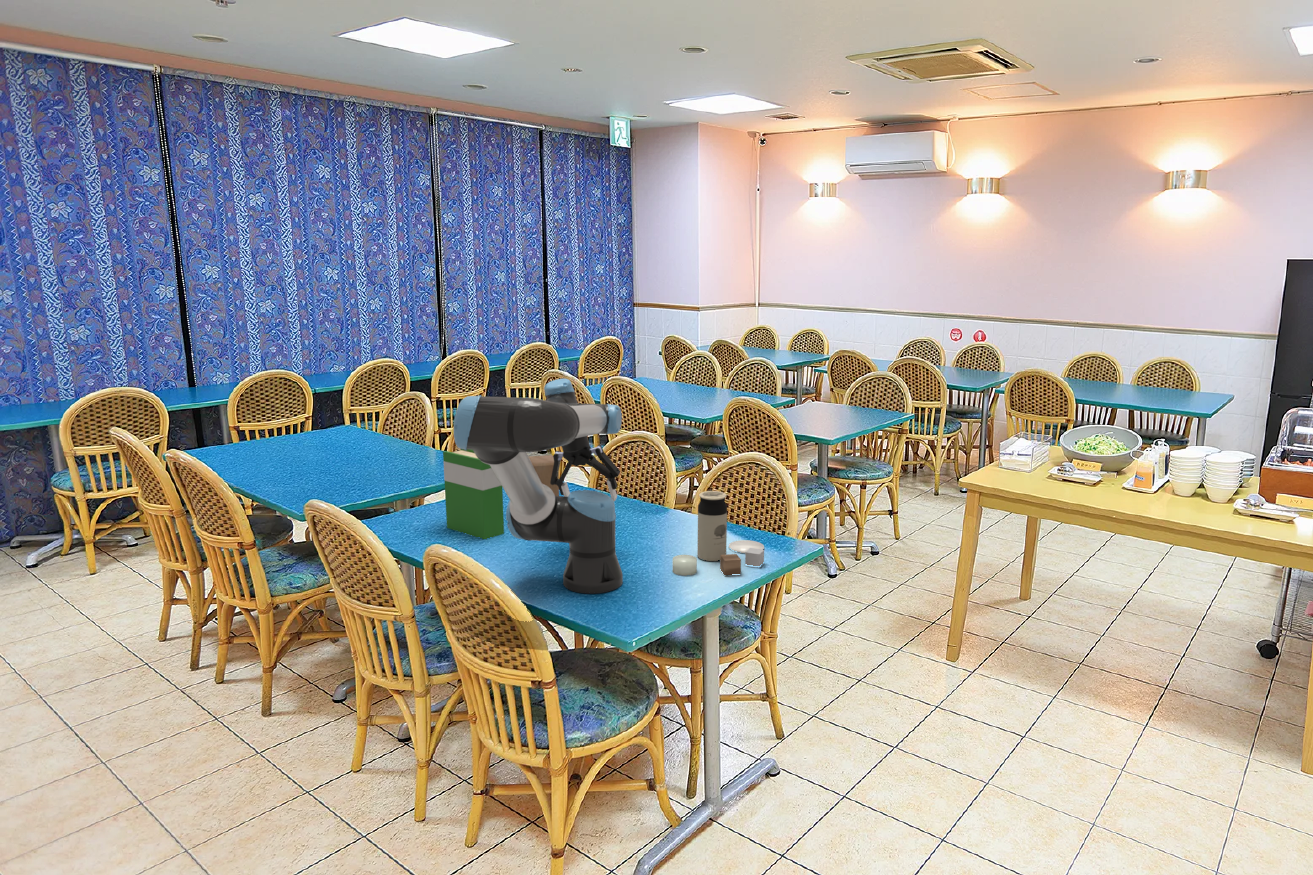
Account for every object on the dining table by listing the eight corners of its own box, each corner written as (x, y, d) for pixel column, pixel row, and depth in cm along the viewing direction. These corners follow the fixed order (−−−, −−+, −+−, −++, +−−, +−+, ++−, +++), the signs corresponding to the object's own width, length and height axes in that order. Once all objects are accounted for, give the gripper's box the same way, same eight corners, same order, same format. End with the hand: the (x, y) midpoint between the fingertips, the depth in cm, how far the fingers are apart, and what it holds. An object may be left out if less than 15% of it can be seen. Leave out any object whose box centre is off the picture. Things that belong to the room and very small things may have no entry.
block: (527, 526, 265) (526, 463, 260) (524, 517, 274) (522, 456, 270) (560, 524, 267) (558, 461, 263) (555, 514, 277) (553, 454, 272)
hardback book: (446, 527, 263) (442, 451, 258) (466, 522, 269) (462, 447, 264) (484, 539, 253) (481, 460, 248) (504, 533, 258) (501, 455, 253)
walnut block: (740, 575, 225) (741, 559, 224) (724, 576, 225) (724, 560, 224) (736, 569, 230) (736, 553, 229) (720, 570, 229) (720, 554, 228)
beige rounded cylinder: (695, 576, 224) (695, 563, 224) (670, 575, 225) (670, 562, 225) (698, 568, 231) (698, 555, 230) (674, 566, 232) (674, 554, 231)
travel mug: (692, 554, 241) (693, 492, 237) (718, 550, 244) (719, 489, 240) (704, 563, 234) (705, 499, 230) (731, 559, 236) (732, 496, 233)
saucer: (763, 554, 240) (763, 552, 240) (727, 552, 242) (727, 550, 242) (764, 543, 250) (764, 541, 250) (730, 541, 251) (730, 539, 251)
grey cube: (759, 568, 230) (759, 554, 229) (745, 566, 232) (745, 552, 231) (763, 563, 234) (764, 549, 233) (749, 561, 235) (750, 547, 235)
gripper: (618, 422, 235) (636, 490, 243) (535, 434, 242) (555, 499, 250) (611, 434, 228) (630, 503, 236) (525, 445, 235) (547, 512, 243)
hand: (592, 501), depth 243 cm, fingers open, 13 cm apart
